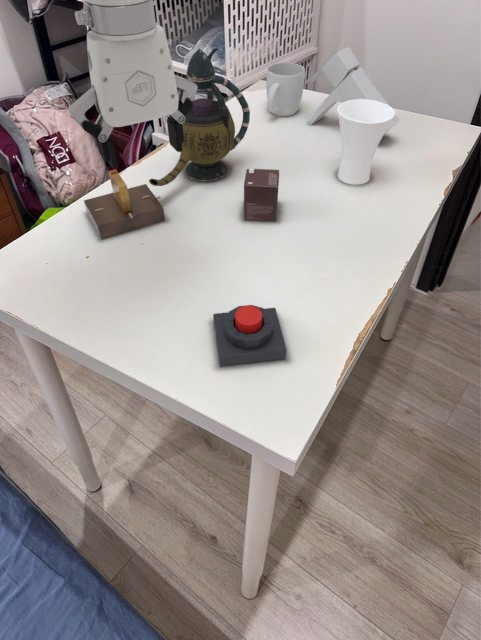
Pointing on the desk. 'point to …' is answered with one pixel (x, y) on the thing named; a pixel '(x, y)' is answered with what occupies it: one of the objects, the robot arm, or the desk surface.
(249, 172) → the box
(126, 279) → the desk surface
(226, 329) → the dark grey squat piece
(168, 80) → the robot arm
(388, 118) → the cup
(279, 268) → the desk surface
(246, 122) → the teapot
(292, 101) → the mug
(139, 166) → the desk surface
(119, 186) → the tap handle
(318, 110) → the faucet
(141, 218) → the tap block
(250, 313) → the red short cylinder
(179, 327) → the desk surface
